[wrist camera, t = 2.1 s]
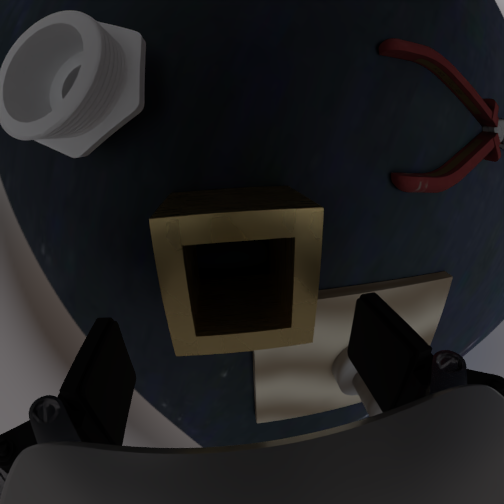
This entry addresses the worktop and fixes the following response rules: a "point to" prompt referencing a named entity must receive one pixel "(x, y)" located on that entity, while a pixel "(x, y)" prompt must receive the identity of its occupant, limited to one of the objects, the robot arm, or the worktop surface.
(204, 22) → the worktop surface
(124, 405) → the robot arm
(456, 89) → the pliers
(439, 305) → the post stand
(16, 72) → the pipe fitting
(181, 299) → the hollow wooden cube
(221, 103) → the worktop surface
